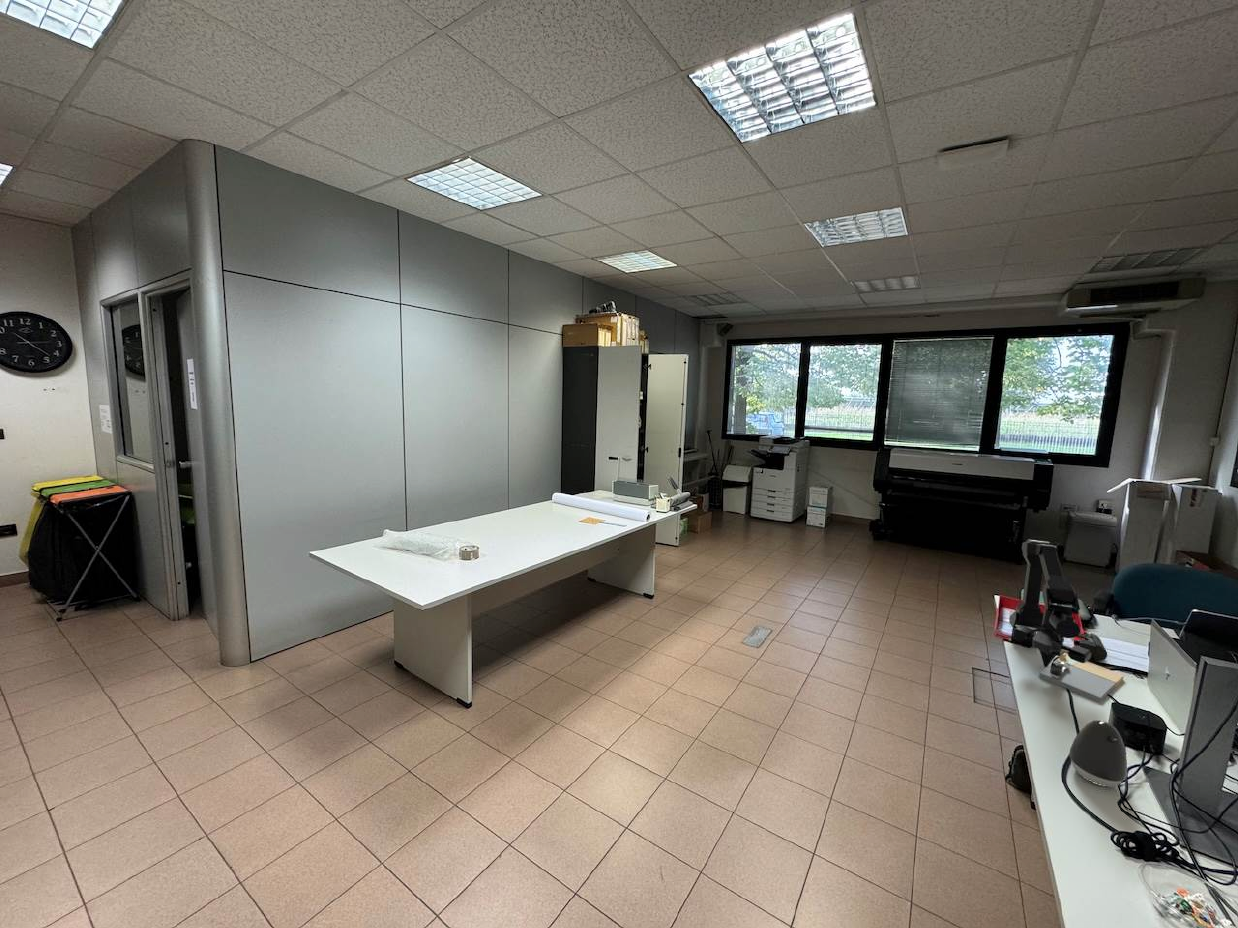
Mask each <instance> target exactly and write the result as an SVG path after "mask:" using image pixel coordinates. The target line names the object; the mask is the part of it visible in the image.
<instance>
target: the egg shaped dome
mask: <svg viewBox="0 0 1238 928" xmlns="http://www.w3.org/2000/svg"><path fill="white" fill-rule="evenodd" d="M1069 758H1070V761H1071V765H1072V767H1073V768H1074V770H1075V772H1076V773H1078V775H1080V776H1081V775H1082V776H1083V777H1085V778H1086V779H1088V780H1091V781H1092V782H1095V783H1097V784H1101V785H1105V786H1112V787H1113V786H1114V787H1116V786H1119V785H1120V784H1121V783H1122V782H1123V781H1125V780H1126V778H1127V776H1128V759H1127V758H1128V757H1127V752H1126V748H1125V744H1124V741H1123V739H1122V736H1121V734H1120V732H1119V731H1118V729H1117V728H1116V727H1115V726H1114V725H1112V724H1111V723H1109V722H1107V721H1105V720H1092V721H1091V722H1088V723H1087V724H1086V725H1085V726H1084V727H1083V728H1081V730H1080V731H1079V732H1078V734H1077V735H1076V737H1074V740H1073V742H1072V744H1071V746H1070V748H1069ZM1082 776H1081V777H1082ZM1085 778H1084V779H1085ZM1086 779H1085V780H1086ZM1088 780H1087V781H1088ZM1092 782H1091V783H1092ZM1112 787H1111V788H1112Z"/></svg>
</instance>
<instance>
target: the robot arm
mask: <svg viewBox="0 0 1238 928" xmlns="http://www.w3.org/2000/svg"><path fill="white" fill-rule="evenodd" d="M1021 551H1022V555H1023V558H1024V559H1025V562H1027V564H1026V571H1025V572H1026V573H1025V578H1024V579H1025V580H1024V587H1023V593H1022V601H1021V602H1019V603H1018V604H1017V605H1015V610H1014V611H1013V612H1012V614H1011V615H1010V616H1009V624H1010V626H1011V627H1012V628H1011V635H1010V636H1011V637H1010V638H1009V639H1008V642H1011V643H1014V644H1016V645H1017V646H1018V645H1019V646H1021V647H1023V648H1026V649H1031V648H1033V649H1036V650H1038V651H1039V654H1040V656H1041V660H1042V663H1043V667H1044V669H1045V668H1047V667H1048V666H1049V665H1050V664H1051V663H1053V661H1054V659H1055V658H1056V657H1059V656H1061V655H1062V654H1064V653H1067V654H1068V656H1069V657H1070V659H1072V660H1075V661H1078V662H1080V663H1085V662H1089V661H1088V660H1089V659H1090V658H1091V652H1090V651H1089V650H1087V649H1085V648H1082V647H1079V646H1077V645H1075V646H1074V645H1073V646H1072V647H1071V646H1069V645H1066V644H1064V641H1065V639H1074V638H1077V637H1076V636H1078V635H1079V633H1081V628H1080V626H1079V624H1078V623H1077V622H1076V621H1075V618H1074V616H1073V615H1079V614H1080V613H1079V611H1080V609H1081V607H1080V602H1079V598H1078V597H1079V596H1078V595H1077V593H1076V592H1075V589H1074V587H1073V586H1072V584H1071V583H1070V582H1068V581H1067V580H1066V579H1065V577H1064V574H1063V570H1062V566H1061V564H1060V560H1059V556H1058V552H1059V550H1058V546H1057V545H1052V544H1051V543H1050V541H1044V540H1035V539H1027V540H1026V541H1023V542H1022V545H1021ZM1043 576H1044V580H1045V584H1044V586H1043V587H1042V583H1043ZM1041 589H1042V591H1041ZM1041 593H1042V596H1041ZM1040 596H1041V597H1042V600H1043V603H1044V611H1042V609H1041V607H1040Z"/></svg>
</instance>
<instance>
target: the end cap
mask: <svg viewBox="0 0 1238 928" xmlns="http://www.w3.org/2000/svg"><path fill="white" fill-rule="evenodd" d="M1075 638H1078V639H1074V640H1073V646H1075V645H1077V646H1080V647H1082V648H1085V649H1087V650H1089V651H1090V652H1091V658H1090V659H1089V660H1088V661H1087V662H1090V663H1099V662H1102V661H1104V660H1106V659H1107V658H1108V651H1107V650H1106V647H1105V646H1104V644H1103V642H1102V640H1101V638H1100V637H1099V636H1098V635H1096V634H1094V633H1092V632H1090V635H1089V634H1085V633H1082V632H1080V633H1079V635H1078V636H1076V637H1075Z"/></svg>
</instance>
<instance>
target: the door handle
mask: <svg viewBox="0 0 1238 928" xmlns="http://www.w3.org/2000/svg"><path fill="white" fill-rule="evenodd" d="M1050 664H1051V669H1050V673H1051V675H1050V676H1052V677H1055V678H1057V679H1059V677H1060V676H1061V675H1062V674H1063V672H1064V671H1065V670H1069V669H1070V664H1069V663H1067V662H1064V661H1057V663H1053V662H1051V663H1050Z"/></svg>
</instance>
